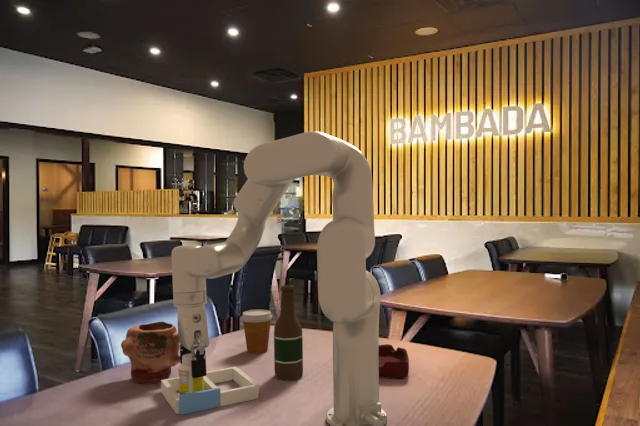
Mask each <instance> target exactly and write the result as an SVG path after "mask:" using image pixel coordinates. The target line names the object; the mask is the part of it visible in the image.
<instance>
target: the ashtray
mask: <svg viewBox="0 0 640 426" xmlns="http://www.w3.org/2000/svg"><path fill="white" fill-rule="evenodd" d="M378 347H379V378H388V379H396V380H403V379H405V378H407V377H408V375H409V372H410V370H409V369H410V360H409V355H408V351H407V349H406V348H403V347H400V346H398V347H397V348H396V349H395V348H394V347H393V345H392V344H386V343H385V344H379V346H378Z"/></svg>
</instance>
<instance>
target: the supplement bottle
mask: <svg viewBox="0 0 640 426" xmlns="http://www.w3.org/2000/svg"><path fill="white" fill-rule="evenodd" d="M195 354H196V352H195ZM191 360H193V359H192V354H191V353H190V354H185V355H183V356H182V364H181V363H179V366H178V377H179V390H178V393H179V394H178V395H183V394H188V393H193V392H198V391H203V390H204V380H203V377H198V378H192V369H191Z"/></svg>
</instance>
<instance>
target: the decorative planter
mask: <svg viewBox="0 0 640 426" xmlns="http://www.w3.org/2000/svg"><path fill="white" fill-rule="evenodd" d="M125 334H126V335H125V338H124V339H123V340H122V341H121V343H120V347H121V349H122V353H123V355H124V356H126V357H128V359H129V361H130V363H131V364H130V377H131V380H132V381H134V383H138V384H144V385H145V384H147V385H149V384H151V385H152V384H159V383H161V380H164V379H169V378H170V376H171V374H172V367H173V368H174V367H176V366H177V365H178V364H181V363H180V354H179V351H180V342H179V339H178V329H177V327H176V326H175V325H174V324H173V323H169V322H165V321H156V322H155V321H154V322H149V323H144V324H137V325H134V326H132V327H129V328H128V329H127V332H126V333H125Z"/></svg>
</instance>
